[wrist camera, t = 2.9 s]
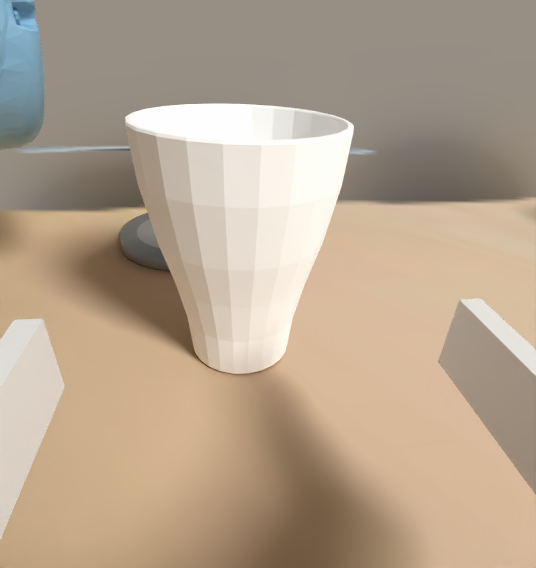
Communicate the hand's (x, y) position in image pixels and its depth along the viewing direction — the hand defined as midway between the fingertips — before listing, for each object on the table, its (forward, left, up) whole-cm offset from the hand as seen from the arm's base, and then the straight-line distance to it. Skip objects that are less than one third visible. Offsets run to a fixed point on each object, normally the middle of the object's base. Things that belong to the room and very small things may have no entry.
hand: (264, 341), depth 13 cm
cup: (-3, +10, -8) cm, 13 cm away
